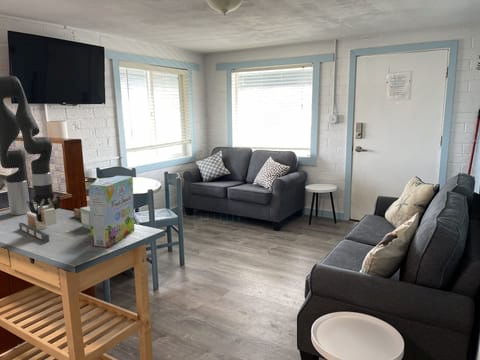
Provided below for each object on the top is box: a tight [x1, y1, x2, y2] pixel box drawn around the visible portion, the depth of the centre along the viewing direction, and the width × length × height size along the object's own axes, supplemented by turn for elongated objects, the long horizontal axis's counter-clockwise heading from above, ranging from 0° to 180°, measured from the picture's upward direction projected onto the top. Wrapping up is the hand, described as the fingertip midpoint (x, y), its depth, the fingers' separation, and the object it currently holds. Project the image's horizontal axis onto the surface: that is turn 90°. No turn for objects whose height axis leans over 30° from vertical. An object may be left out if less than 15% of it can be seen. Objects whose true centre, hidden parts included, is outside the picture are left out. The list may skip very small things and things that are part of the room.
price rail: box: [18, 222, 50, 243], centre depth 158 cm, size 26×2×3 cm, turn 53°
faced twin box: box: [26, 211, 48, 231], centre depth 169 cm, size 5×9×7 cm, turn 53°
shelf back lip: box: [73, 208, 81, 219], centre depth 179 cm, size 26×1×4 cm, turn 53°
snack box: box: [88, 175, 135, 248], centre depth 153 cm, size 22×9×26 cm, turn 168°
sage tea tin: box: [79, 205, 91, 231], centre depth 170 cm, size 8×5×9 cm, turn 53°
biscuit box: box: [34, 205, 57, 227], centre depth 162 cm, size 5×9×7 cm, turn 52°
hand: (46, 220), depth 162 cm, fingers closed on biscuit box, 4 cm apart
